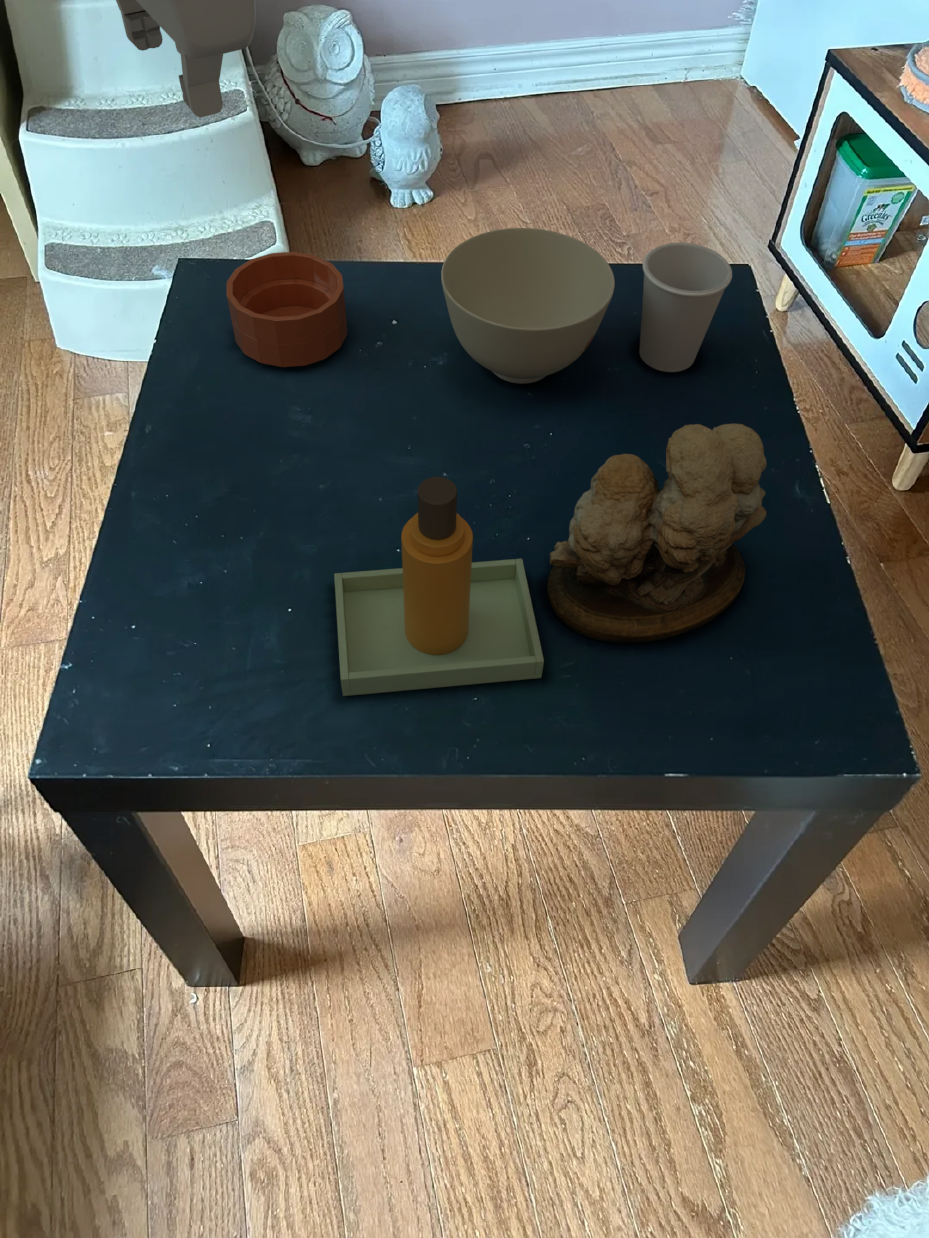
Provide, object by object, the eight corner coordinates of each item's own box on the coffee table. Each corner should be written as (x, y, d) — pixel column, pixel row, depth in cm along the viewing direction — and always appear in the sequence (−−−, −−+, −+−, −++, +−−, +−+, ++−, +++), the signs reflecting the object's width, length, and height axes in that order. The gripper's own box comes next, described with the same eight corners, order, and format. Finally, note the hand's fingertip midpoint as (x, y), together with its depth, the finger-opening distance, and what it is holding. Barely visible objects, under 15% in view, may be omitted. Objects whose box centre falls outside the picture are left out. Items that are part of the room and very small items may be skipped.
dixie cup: (623, 327, 101) (640, 239, 93) (703, 330, 101) (727, 243, 93) (628, 378, 96) (646, 291, 88) (712, 383, 96) (738, 295, 88)
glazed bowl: (263, 385, 94) (254, 333, 89) (219, 323, 99) (208, 271, 95) (366, 350, 97) (363, 298, 93) (318, 292, 103) (312, 240, 98)
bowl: (547, 440, 90) (558, 352, 82) (408, 375, 95) (406, 287, 87) (627, 352, 98) (645, 264, 90) (496, 297, 103) (501, 209, 95)
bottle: (424, 665, 74) (423, 528, 62) (393, 620, 76) (386, 479, 64) (480, 639, 76) (489, 500, 63) (447, 595, 78) (450, 454, 66)
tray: (342, 696, 73) (340, 679, 71) (336, 591, 79) (334, 573, 77) (541, 678, 74) (544, 661, 72) (520, 576, 80) (522, 558, 78)
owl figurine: (705, 504, 86) (756, 346, 72) (779, 602, 79) (852, 448, 66) (520, 561, 81) (539, 403, 67) (584, 669, 75) (618, 519, 61)
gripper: (-15, -273, 50) (66, 20, 61) (117, -161, 40) (186, 167, 51) (104, -284, 52) (162, 1, 63) (259, -181, 42) (296, 138, 53)
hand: (174, 76), depth 57 cm, fingers open, 8 cm apart
